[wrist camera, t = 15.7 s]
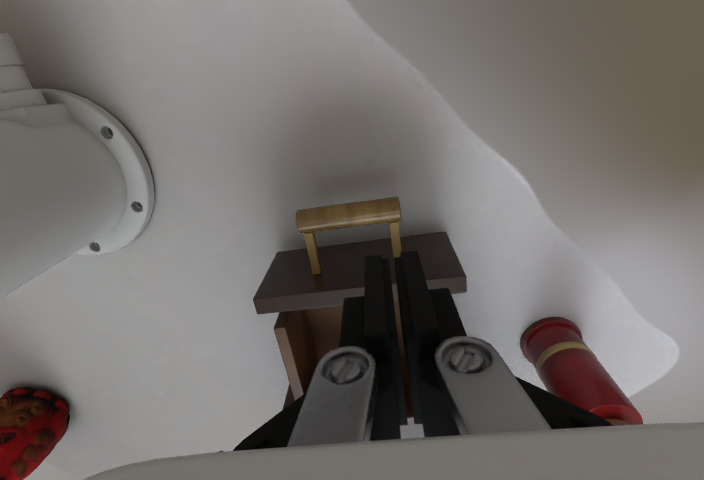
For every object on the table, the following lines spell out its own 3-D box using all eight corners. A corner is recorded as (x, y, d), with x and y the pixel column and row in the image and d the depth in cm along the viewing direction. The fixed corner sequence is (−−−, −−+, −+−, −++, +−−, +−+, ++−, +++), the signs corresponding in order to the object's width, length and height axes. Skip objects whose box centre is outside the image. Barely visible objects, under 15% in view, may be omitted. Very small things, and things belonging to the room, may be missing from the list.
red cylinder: (520, 320, 33) (594, 443, 22) (581, 314, 32) (688, 438, 21) (519, 365, 35) (586, 498, 24) (576, 360, 34) (671, 494, 23)
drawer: (262, 197, 28) (232, 233, 22) (442, 172, 27) (463, 203, 21) (312, 388, 36) (300, 455, 30) (454, 376, 34) (473, 444, 28)
